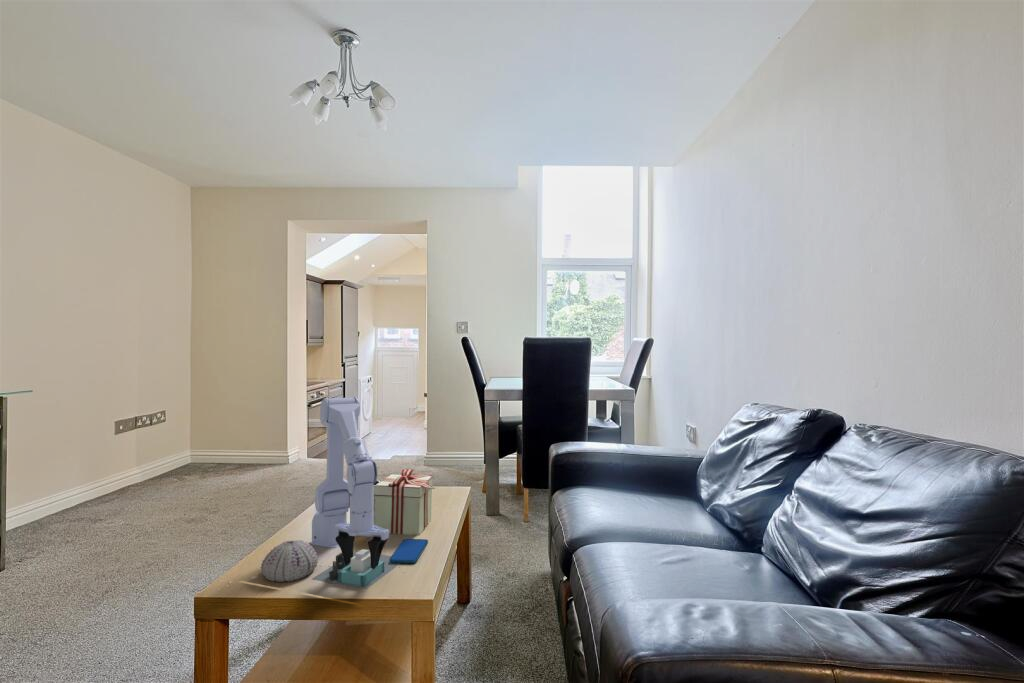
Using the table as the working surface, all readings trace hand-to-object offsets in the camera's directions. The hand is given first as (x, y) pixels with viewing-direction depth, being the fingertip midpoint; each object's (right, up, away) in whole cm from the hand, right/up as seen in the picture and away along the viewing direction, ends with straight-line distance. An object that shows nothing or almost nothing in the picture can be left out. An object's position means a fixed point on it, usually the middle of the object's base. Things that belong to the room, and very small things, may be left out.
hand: (361, 564), depth 124 cm
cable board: (-2, -3, +5) cm, 6 cm away
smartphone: (+9, -3, +15) cm, 18 cm away
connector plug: (0, -3, 0) cm, 3 cm away
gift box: (+4, -4, +37) cm, 37 cm away
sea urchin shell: (-19, -4, +3) cm, 19 cm away
